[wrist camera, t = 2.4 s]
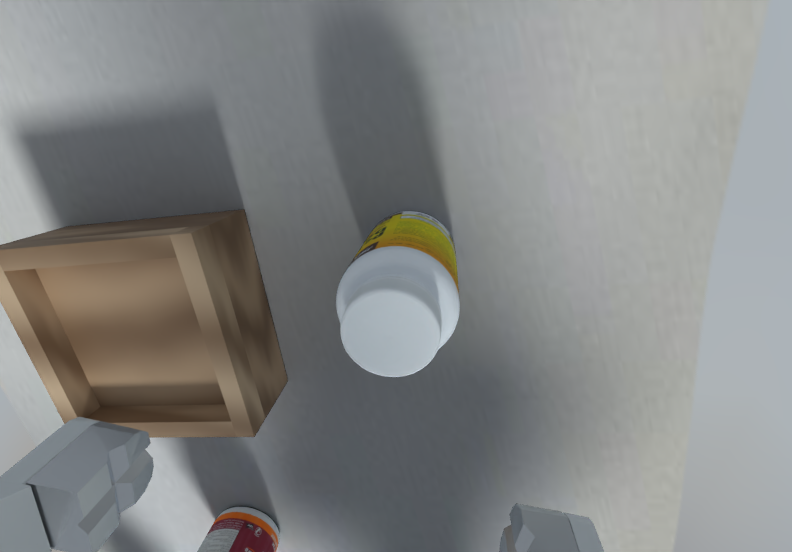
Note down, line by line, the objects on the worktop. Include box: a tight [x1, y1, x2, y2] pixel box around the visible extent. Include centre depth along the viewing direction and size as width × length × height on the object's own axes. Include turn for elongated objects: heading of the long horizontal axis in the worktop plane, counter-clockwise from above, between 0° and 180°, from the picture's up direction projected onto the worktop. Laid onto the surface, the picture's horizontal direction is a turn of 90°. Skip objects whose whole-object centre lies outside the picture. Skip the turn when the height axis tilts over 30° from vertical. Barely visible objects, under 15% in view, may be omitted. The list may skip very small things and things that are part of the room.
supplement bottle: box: [336, 211, 460, 377], centre depth 20 cm, size 6×6×10 cm
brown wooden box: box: [0, 210, 288, 437], centre depth 25 cm, size 13×13×6 cm
